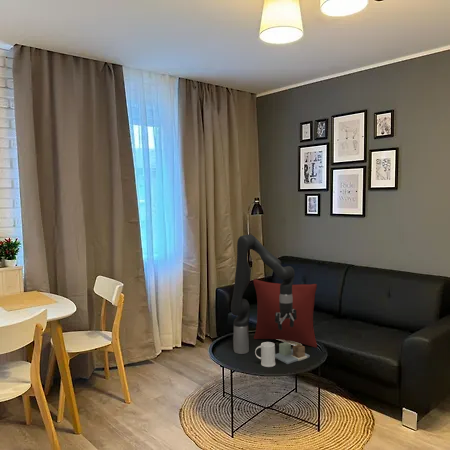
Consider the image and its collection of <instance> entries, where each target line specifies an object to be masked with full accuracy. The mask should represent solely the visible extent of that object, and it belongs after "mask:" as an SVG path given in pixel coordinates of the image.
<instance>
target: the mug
mask: <svg viewBox="0 0 450 450" xmlns="http://www.w3.org/2000/svg"><path fill="white" fill-rule="evenodd" d="M275 344H276V343H274V342H271V341H264V342H261V344H260V345H258V346H257V347H256V348H255V351H254V353H255V356H256V358H257V359H259V360H260V361H261V362H260V365H261V366H262V367H265V368H272V367H274V366H276V358H275V354H276V345H275ZM258 349H260V356H259V355H257V350H258Z"/></svg>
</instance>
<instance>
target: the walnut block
mask: <svg viewBox="0 0 450 450" xmlns="http://www.w3.org/2000/svg"><path fill="white" fill-rule="evenodd" d="M292 349H293V356H295V357H297V358H301V357H304V356H305V353H306V346H304V345H302V344H301V343H299V344H298V343H297V344H295V345H292Z"/></svg>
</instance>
